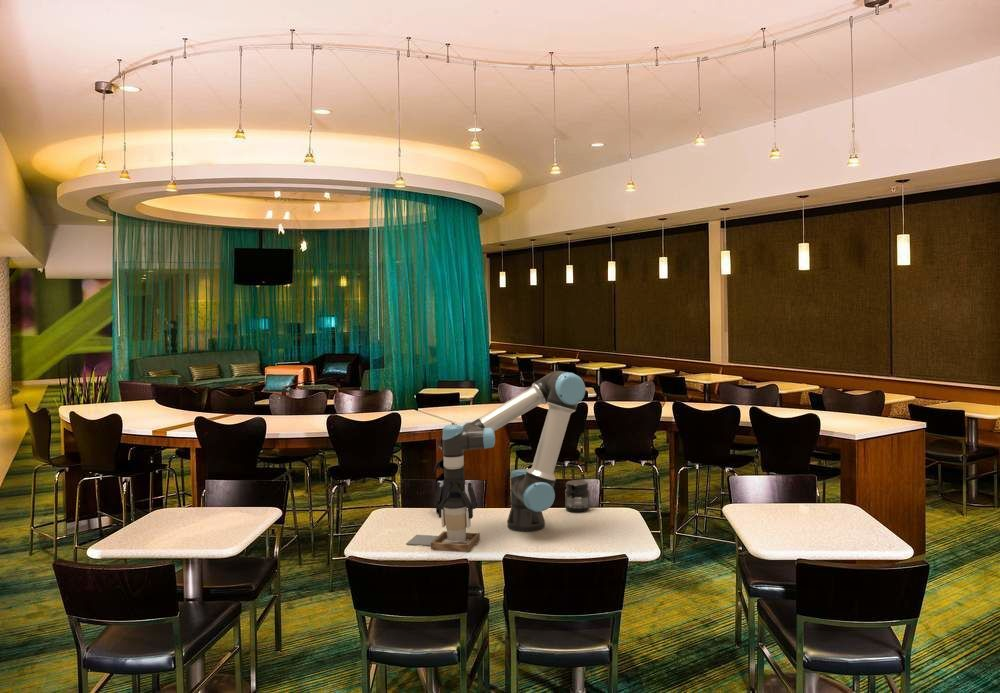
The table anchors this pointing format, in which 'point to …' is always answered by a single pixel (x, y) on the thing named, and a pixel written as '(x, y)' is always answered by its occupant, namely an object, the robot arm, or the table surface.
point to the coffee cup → (455, 519)
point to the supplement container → (577, 496)
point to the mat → (422, 540)
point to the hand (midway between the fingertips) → (456, 526)
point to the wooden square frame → (455, 547)
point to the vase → (441, 478)
